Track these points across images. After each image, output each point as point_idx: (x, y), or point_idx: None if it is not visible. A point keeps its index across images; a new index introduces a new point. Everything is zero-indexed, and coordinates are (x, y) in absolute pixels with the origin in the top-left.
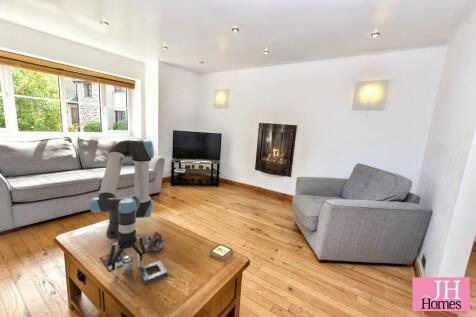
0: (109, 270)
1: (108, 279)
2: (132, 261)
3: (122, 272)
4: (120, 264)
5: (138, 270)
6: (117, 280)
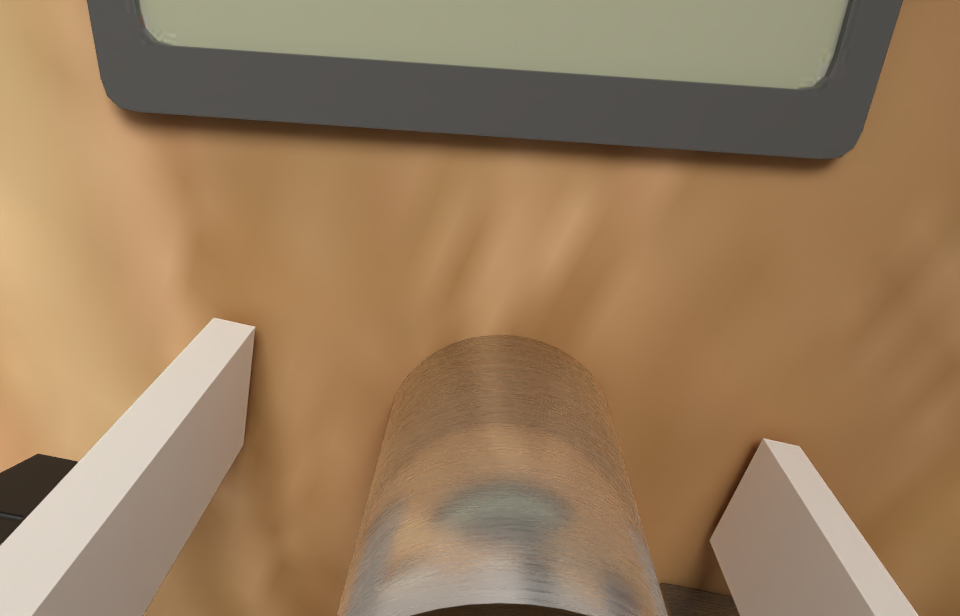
0: (125, 91)
1: (69, 390)
2: (841, 145)
3: (394, 401)
4: (499, 26)
5: (666, 602)
6: (226, 535)
